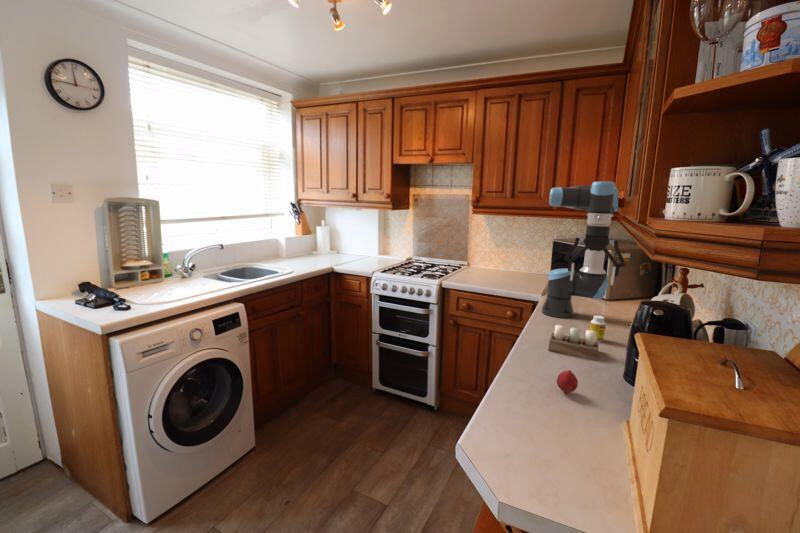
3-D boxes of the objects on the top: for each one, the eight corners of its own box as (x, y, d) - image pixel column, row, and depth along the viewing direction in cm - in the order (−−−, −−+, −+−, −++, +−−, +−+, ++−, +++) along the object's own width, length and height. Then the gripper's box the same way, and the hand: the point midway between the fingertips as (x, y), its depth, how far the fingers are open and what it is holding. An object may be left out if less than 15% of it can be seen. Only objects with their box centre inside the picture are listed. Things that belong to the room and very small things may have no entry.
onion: (551, 391, 116) (554, 367, 114) (562, 386, 119) (564, 363, 118) (569, 400, 111) (572, 375, 110) (580, 394, 115) (583, 370, 113)
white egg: (584, 342, 147) (586, 329, 146) (594, 344, 145) (596, 331, 144) (584, 345, 144) (585, 332, 143) (594, 347, 142) (596, 333, 141)
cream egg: (554, 336, 152) (555, 324, 151) (563, 338, 150) (565, 325, 149) (553, 339, 149) (554, 326, 148) (563, 341, 147) (564, 328, 146)
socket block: (551, 342, 156) (552, 333, 155) (597, 350, 148) (598, 341, 148) (548, 350, 147) (549, 341, 146) (597, 360, 140) (598, 350, 139)
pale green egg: (569, 339, 149) (570, 326, 148) (579, 341, 148) (580, 328, 147) (568, 342, 146) (570, 329, 145) (578, 344, 145) (580, 331, 144)
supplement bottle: (598, 343, 156) (601, 319, 154) (585, 339, 161) (588, 316, 159) (606, 340, 159) (609, 317, 157) (593, 336, 164) (596, 314, 162)
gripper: (560, 223, 139) (554, 279, 143) (639, 228, 128) (630, 289, 132) (562, 222, 146) (556, 276, 150) (637, 226, 134) (629, 284, 138)
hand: (591, 282), depth 141 cm, fingers open, 13 cm apart
